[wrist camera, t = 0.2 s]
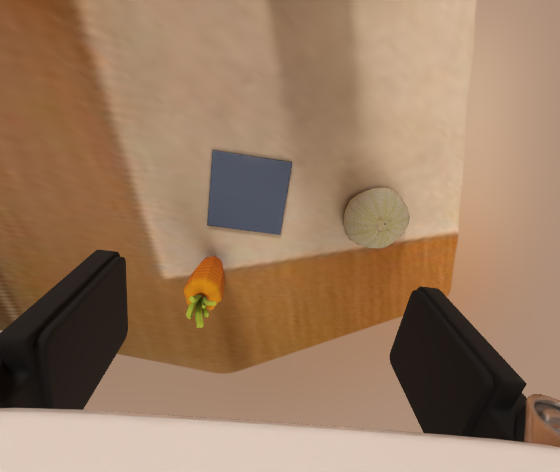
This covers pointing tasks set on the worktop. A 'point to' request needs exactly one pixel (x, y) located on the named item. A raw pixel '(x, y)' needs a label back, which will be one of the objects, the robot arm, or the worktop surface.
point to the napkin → (248, 192)
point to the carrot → (204, 288)
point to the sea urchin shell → (376, 218)
